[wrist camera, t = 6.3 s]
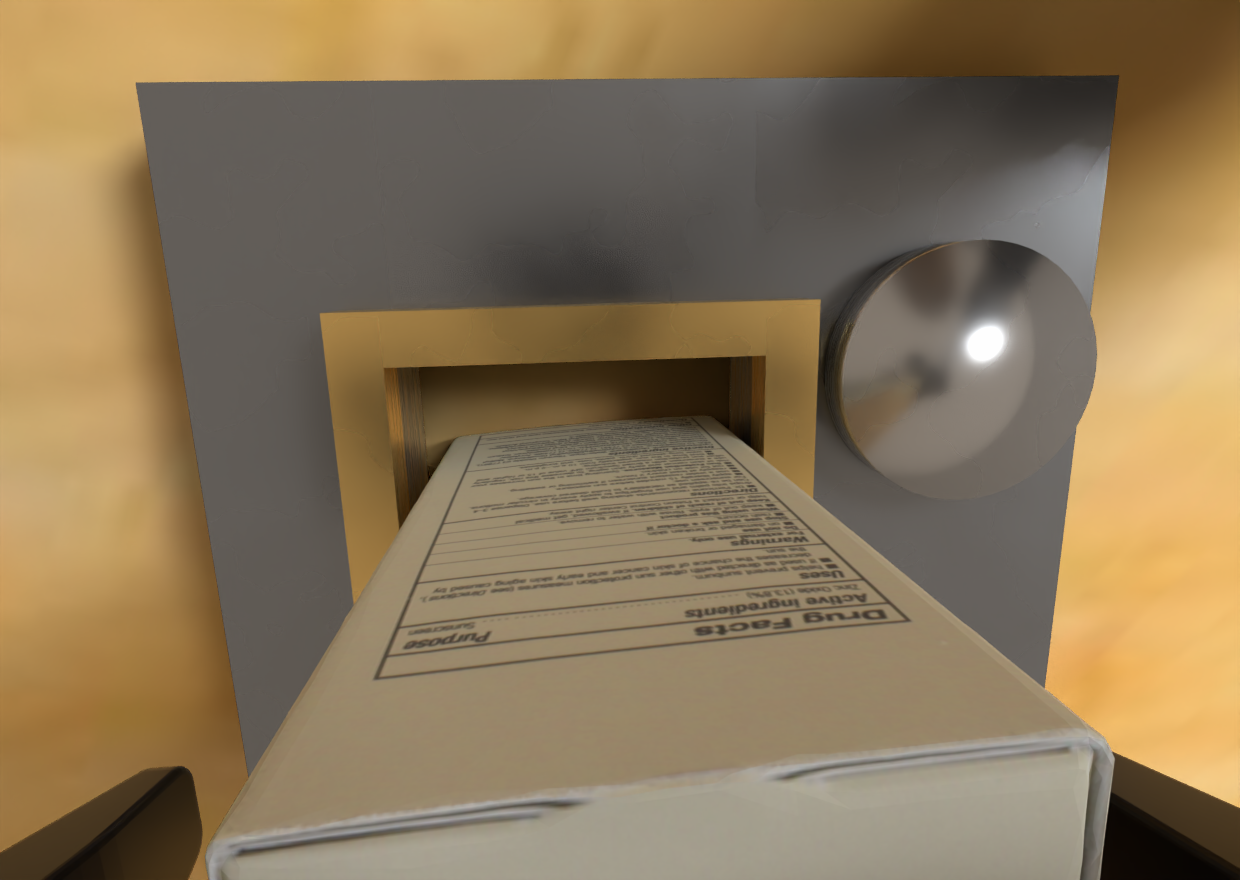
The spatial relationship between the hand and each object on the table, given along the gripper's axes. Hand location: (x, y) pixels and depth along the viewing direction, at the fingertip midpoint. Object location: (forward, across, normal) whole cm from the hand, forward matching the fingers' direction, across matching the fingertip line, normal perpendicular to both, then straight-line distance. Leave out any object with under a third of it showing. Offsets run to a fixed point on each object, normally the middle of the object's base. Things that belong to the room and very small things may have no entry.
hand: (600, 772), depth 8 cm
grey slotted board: (+9, -2, -2) cm, 9 cm away
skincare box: (+9, 0, 0) cm, 9 cm away
